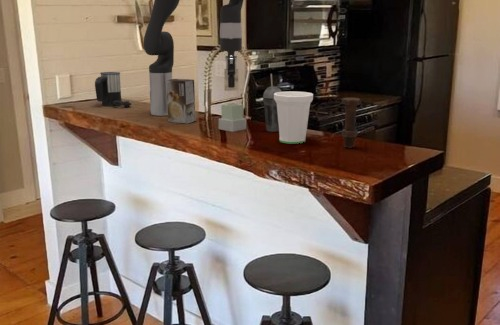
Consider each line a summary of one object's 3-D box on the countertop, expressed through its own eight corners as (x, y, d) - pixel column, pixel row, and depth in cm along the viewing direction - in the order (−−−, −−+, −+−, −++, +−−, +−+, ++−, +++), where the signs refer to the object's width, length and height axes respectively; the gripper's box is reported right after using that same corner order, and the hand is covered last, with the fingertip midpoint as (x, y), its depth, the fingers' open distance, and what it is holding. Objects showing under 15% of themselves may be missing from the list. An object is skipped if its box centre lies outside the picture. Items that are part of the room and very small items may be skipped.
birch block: (224, 88, 189) (224, 69, 187) (237, 88, 189) (237, 69, 187) (224, 90, 184) (224, 70, 182) (238, 90, 184) (238, 70, 183)
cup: (319, 141, 171) (321, 93, 167) (294, 147, 163) (295, 97, 159) (290, 135, 180) (291, 90, 176) (265, 141, 171) (265, 93, 167)
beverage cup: (287, 130, 188) (288, 73, 183) (273, 133, 183) (274, 74, 178) (271, 127, 193) (272, 72, 188) (258, 130, 188) (258, 73, 182)
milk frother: (106, 103, 249) (104, 71, 245) (139, 103, 246) (137, 71, 243) (93, 108, 235) (91, 74, 231) (127, 108, 233) (125, 74, 229)
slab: (218, 129, 190) (218, 118, 189) (232, 126, 195) (232, 116, 194) (232, 132, 185) (232, 121, 184) (246, 129, 190) (246, 118, 189)
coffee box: (196, 121, 204) (195, 79, 200) (187, 124, 199) (185, 81, 195) (176, 119, 208) (175, 78, 204) (167, 121, 203) (165, 79, 199)
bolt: (353, 150, 159) (355, 100, 155) (337, 148, 162) (339, 99, 158) (360, 146, 164) (362, 98, 160) (344, 144, 167) (347, 96, 163)
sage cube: (221, 118, 189) (221, 104, 188) (233, 116, 193) (233, 102, 192) (231, 120, 186) (231, 106, 184) (243, 118, 189) (243, 104, 188)
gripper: (220, 36, 189) (220, 84, 193) (219, 37, 175) (220, 89, 179) (241, 36, 189) (241, 84, 193) (242, 37, 175) (242, 88, 180)
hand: (231, 86), depth 186 cm, fingers closed on birch block, 4 cm apart
